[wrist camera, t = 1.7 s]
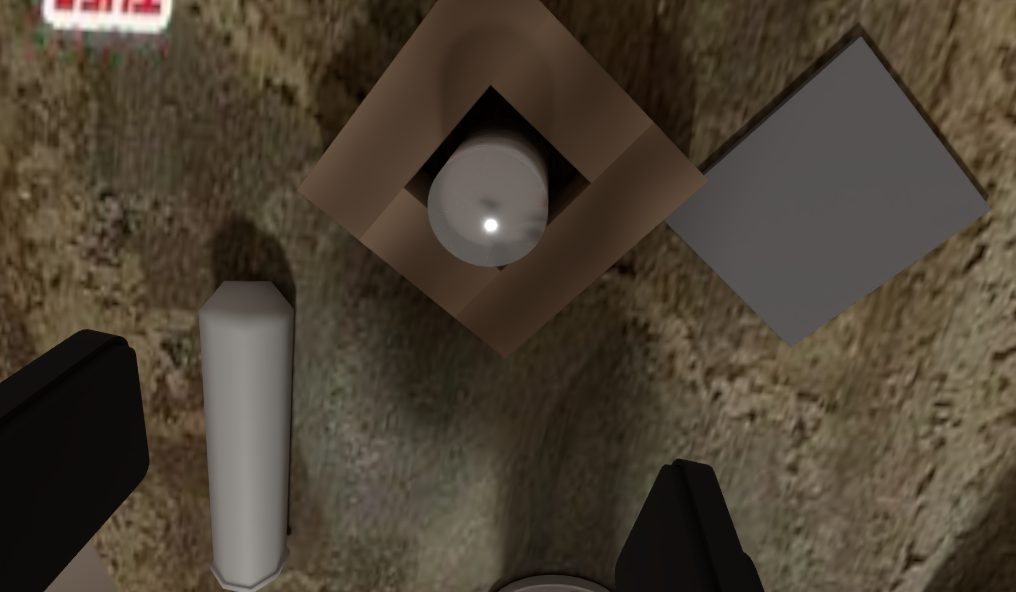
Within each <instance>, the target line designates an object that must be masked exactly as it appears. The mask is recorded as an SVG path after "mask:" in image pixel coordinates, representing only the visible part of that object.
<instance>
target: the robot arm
mask: <svg viewBox="0 0 1016 592" xmlns="http://www.w3.org/2000/svg"><path fill="white" fill-rule="evenodd" d="M148 467H149V452H148V444H147V436H146V428H145V421H144V413H143V405H142V397H141V390H140V382H139V374H138V366H137V358H136V353H135V351H134V349H133V348H130V347H129V345H128V342H127V341H126V339H125V338H123V337H121V336H117V335H112V334H108V333H103V332H99V331H94V330H89V329H85V330H81V331H79V332H77V333H75V334H73V335H72V336H70V337H69V338H67V339H66V340H64V341H63V342H61V343H60V344H58V345H57V346H55V347H54V348H52V349H51V350H49V351H48V352H46V353H45V354H43V355H42V356H40V357H39V358H37V359H36V360H34V361H33V362H31V363H30V364H28V365H27V366H25V367H23V368H22V369H20V370H19V371H17V372H16V373H14V374H13V375H11V376H10V377H8V378H7V379H5V380H4V381H2V382H1V383H0V592H44V591H45V590H46V589H47V587H48V586H49V585H50V584H51V583H52V582H53V581H54V580H55V578H56V577H57V576H58V575H59V574H60V573H61V572H62V571H63V569H64V568H65V567H66V566H67V565H68V564H69V563H70V562H71V560H72V559H73V558H74V557H75V556H76V555H77V553H78V552H79V551H80V550H81V549H82V548H83V547H84V546H85V545H86V543H87V542H88V541H89V540H90V539H91V538H92V537H93V536H94V534H95V533H96V532H97V531H98V530H99V529H100V528H101V527H102V525H103V524H104V523H105V522H106V521H107V520H108V519H109V518H110V516H111V515H112V514H113V513H114V512H115V511H116V510H117V508H118V507H119V506H120V505H121V504H122V503H123V502H124V501H125V499H126V498H127V497H128V496H129V495H130V494H131V493H132V492H133V490H134V489H135V488H136V487H137V486H138V485H139V484H140V482H141V481H142V480H143V478H144V477H145V475H146V473H147V470H148ZM615 587H616V592H764V589H763V586H762V584H761V581H760V578H759V575H758V573H757V570H756V568H755V566H754V564H753V562H752V560H751V558H750V557H749V556H748V555H747V554H746V553H744V552H743V550H742V547H741V545H740V542H739V539H738V536H737V533H736V531H735V528H734V525H733V522H732V520H731V517H730V514H729V511H728V508H727V506H726V503H725V500H724V497H723V495H722V492H721V489H720V486H719V483H718V481H717V478H716V475H715V472H714V470H713V468H712V467H711V466H709V465H706V464H702V463H697V462H692V461H688V460H683V459H676V460H675V461H674V462H673V463H672V465H666V464H665V465H664V466H663V467H662V468H661V470H660V472H659V474H658V476H657V478H656V480H655V482H654V484H653V487H652V489H651V491H650V493H649V495H648V497H647V499H646V501H645V503H644V505H643V507H642V509H641V511H640V514H639V516H638V518H637V520H636V522H635V524H634V526H633V528H632V530H631V532H630V534H629V536H628V539H627V541H626V543H625V545H624V547H623V549H622V551H621V553H620V555H619V557H618V560H617V563H616V567H615ZM498 592H610V591H609V590H607V589H606V588H604V587H602V586H600V585H598V584H596V583H594V582H591V581H588V580H585V579H582V578H577V577H572V576H566V575H540V576H534V577H529V578H524V579H521V580H519V581H516V582H513V583H511V584H509V585H507V586H506V587H504V588H502V589H501V590H500V591H498Z"/></svg>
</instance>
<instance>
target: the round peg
mask: <svg viewBox="0 0 1016 592" xmlns="http://www.w3.org/2000/svg"><path fill="white" fill-rule="evenodd" d="M548 181H549V160H548V154H547V151H546V148H545V145H544V143H543V141H542V140H541V138H540V137H539V136H538V134H537V133H536V132H535V131H534V130H533V129H531V128H530V127H529V126H527V125H526V124H524V123H522V122H520V121H517V120H514V119H509V118H494V119H490V120H487V121H485V122H482V123H480V124H479V125H477V126H476V127H474V128H473V129H472V130H471V131H470V132H469V133H468V134H467V136H466V137H465V138H464V140H463V141H462V142H461V144H460V145H459V146H458V148H457V149H456V150H455V152H454V153H453V154H452V156H451V157H450V158H449V160H448V161H447V162H446V164H445V165H444V167H443V168H442V169H441V171H440V172H439V173H438V175H437V176H436V178H435V179H434V181H433V183H432V186H431V188H430V192H429V196H428V216H429V221H430V224H431V227H432V229H433V231H434V234H435V235H436V237H437V238H438V240H439V241H440V243H441V244H442V245H443V246H444V247H445V248H446V249H447V250H448V251H449V252H450V253H452V254H453V255H454V256H456V257H457V258H459V259H461V260H463V261H465V262H467V263H470V264H474V265H478V266H484V267H495V266H502V265H507V264H510V263H513V262H515V261H517V260H519V259H521V258H522V257H524V256H525V255H527V254H528V253H529V252H530V251H531V250H532V249H533V248H534V247H535V246H536V245H537V243H538V242H539V240H540V239H541V237H542V235H543V233H544V230H545V227H546V223H547V218H548Z"/></svg>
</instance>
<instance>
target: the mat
mask: <svg viewBox="0 0 1016 592" xmlns="http://www.w3.org/2000/svg"><path fill="white" fill-rule="evenodd" d="M702 174H703V175H704V176H705V177H706V178H707V179H708V181H707V182H706V183H705V184H704V185H703V186H702V187H701V188H699V189H698V190H697V191H696V192H695V193H694V194H693V195H691V196H690V197H689V198H688V199H687V200H686V201H685V202H683V203H682V204H681V205H680V206H679V207H678V208H677V209H676V210H674V211H673V212H672V213H671V214H670V215H669V216H668V217H666V218H665V219H664V221H665V222H666V223H667V224H668V225H669V226H670V227H671V228H672V229H673V230H674V231H675V232H676V233H677V234H678V235H679V236H680V237H681V238H682V239H683V240H684V241H685V242H686V243H687V244H688V245H689V246H690V247H691V248H692V249H693V250H694V251H695V252H696V253H697V254H698V255H699V256H700V257H701V258H702V259H703V260H704V261H705V262H706V263H707V264H708V265H709V266H710V267H711V268H712V269H713V270H714V271H715V272H716V273H717V274H718V275H719V276H720V277H721V278H722V279H723V280H724V281H725V282H726V283H727V284H728V285H729V286H730V287H731V288H732V289H733V290H734V291H735V292H736V293H737V294H738V295H739V296H740V297H741V298H742V299H743V300H744V301H745V302H746V303H747V304H748V305H749V306H750V307H751V308H752V309H753V310H754V311H755V312H756V313H757V314H758V315H759V316H760V317H761V318H762V319H763V320H764V321H765V322H766V323H767V324H768V325H769V326H770V327H771V328H772V329H773V330H774V331H775V332H776V333H777V334H778V335H779V336H780V337H781V338H782V339H783V340H784V341H785V342H786V343H787V344H788V345H789V346H790V347H792V346H793V345H795V344H796V343H798V342H799V341H800V340H802V339H803V338H805V337H806V336H808V335H809V334H811V333H812V332H814V331H815V330H816V329H818V328H819V327H821V326H822V325H824V324H825V323H827V322H828V321H830V320H831V319H832V318H834V317H835V316H837V315H838V314H840V313H841V312H843V311H844V310H846V309H847V308H848V307H850V306H851V305H853V304H854V303H856V302H857V301H859V300H860V299H862V298H863V297H864V296H866V295H867V294H869V293H870V292H872V291H873V290H875V289H876V288H878V287H879V286H880V285H882V284H883V283H885V282H886V281H888V280H889V279H891V278H892V277H894V276H895V275H896V274H898V273H899V272H901V271H902V270H904V269H905V268H907V267H908V266H910V265H911V264H912V263H914V262H915V261H917V260H918V259H920V258H921V257H923V256H924V255H926V254H927V253H928V252H930V251H931V250H933V249H934V248H936V247H937V246H939V245H940V244H942V243H943V242H944V241H946V240H947V239H949V238H950V237H952V236H953V235H955V234H956V233H957V232H959V231H960V230H962V229H963V228H965V227H966V226H968V225H969V224H971V223H972V222H973V221H975V220H976V219H978V218H979V217H981V216H982V215H984V214H985V213H987V212H988V211H989V210H991V208H990V207H989V205H988V204H987V203H986V201H985V200H984V199H983V197H982V196H981V195H980V194H979V192H978V191H977V190H976V188H975V187H974V186H973V184H972V183H971V182H970V180H969V179H968V178H967V176H966V175H965V174H964V172H963V171H962V170H961V168H960V167H959V166H958V164H957V163H956V162H955V160H954V159H953V158H952V156H951V155H950V154H949V152H948V151H947V150H946V148H945V147H944V146H943V144H942V143H941V142H940V140H939V139H938V138H937V136H936V135H935V134H934V132H933V131H932V130H931V128H930V127H929V126H928V125H927V123H926V122H925V121H924V119H923V118H922V117H921V115H920V114H919V113H918V111H917V110H916V109H915V107H914V106H913V105H912V103H911V102H910V101H909V99H908V98H907V97H906V95H905V94H904V93H903V91H902V90H901V89H900V87H899V86H898V85H897V83H896V82H895V81H894V79H893V78H892V77H891V75H890V74H889V73H888V71H887V70H886V69H885V67H884V66H883V65H882V63H881V62H880V61H879V59H878V58H877V57H876V56H875V54H874V53H873V52H872V50H871V49H870V48H869V46H868V45H867V44H866V42H865V41H864V40H863V38H862V37H861V36H855V37H854V38H853V39H852V40H850V41H849V42H848V43H847V44H846V45H845V46H844V47H843V48H841V49H840V50H839V51H838V52H837V53H836V54H835V55H834V56H833V57H831V58H830V59H829V60H828V61H827V62H826V63H825V64H824V65H822V66H821V67H820V68H819V69H818V70H817V71H816V72H815V73H813V74H812V75H811V76H810V77H809V78H808V79H807V80H806V81H804V82H803V83H802V84H801V85H800V86H799V87H798V88H797V89H795V90H794V91H793V92H792V93H791V94H790V95H789V96H788V97H787V98H785V99H784V100H783V101H782V102H781V103H780V104H779V105H778V106H776V107H775V108H774V109H773V110H772V111H771V112H770V113H769V114H767V115H766V116H765V117H764V118H763V119H762V120H761V121H760V122H758V123H757V124H756V125H755V126H754V127H753V128H752V129H751V130H749V131H748V132H747V133H746V134H745V135H744V136H743V137H742V138H740V139H739V140H738V141H737V142H736V143H735V144H734V145H733V146H732V147H730V148H729V149H728V150H727V151H726V152H725V153H724V154H723V155H721V156H720V157H719V158H718V159H717V160H716V161H715V162H714V163H712V164H711V165H710V166H709V167H708V168H707V169H706V170H705V171H703V172H702Z"/></svg>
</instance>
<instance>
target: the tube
mask: <svg viewBox="0 0 1016 592" xmlns="http://www.w3.org/2000/svg"><path fill="white" fill-rule="evenodd" d="M199 323H200V339H201V356H202V373H203V389H204V406H205V423H206V439H207V456H208V473H209V489H210V506H211V523H212V539H213V556H214V560H213V562H212V563H211V565H210V569H211V571H212V572H213V574H214V575H215V577H216V578H217V580H218V581H219V583H220V584H221V586H222V587H223V589H228V590H233V591H238V592H255V591H257V590H258V589H260V588H262V587H263V586H265V585H266V584H268V583H269V582H271V581H273V580H274V579H276V578H277V577H278V576H279V574H280V572H281V570H282V568H283V566H284V564H285V562H286V560H287V558H288V556H289V554H290V550H289V549H288V547H287V546H286V545H287V514H288V482H289V451H290V419H291V388H292V356H293V325H294V309H293V308H292V307H291V305H290V304H289V303H288V302H287V300H286V299H285V298H284V297H283V295H282V294H281V293H280V292H279V290H278V289H277V288H276V287H275V285H274V284H273V283H272V282H271V281H223V283H222V284H221V285H220V286H219V288H218V289H217V290H216V291H215V292H214V294H213V295H212V296H211V297H210V298H209V300H208V301H207V302H206V303H205V304H204V305H203V307H202V308H201V309H200V310H199Z"/></svg>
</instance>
